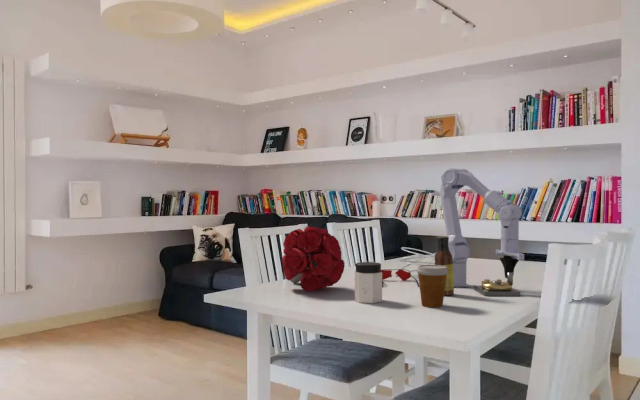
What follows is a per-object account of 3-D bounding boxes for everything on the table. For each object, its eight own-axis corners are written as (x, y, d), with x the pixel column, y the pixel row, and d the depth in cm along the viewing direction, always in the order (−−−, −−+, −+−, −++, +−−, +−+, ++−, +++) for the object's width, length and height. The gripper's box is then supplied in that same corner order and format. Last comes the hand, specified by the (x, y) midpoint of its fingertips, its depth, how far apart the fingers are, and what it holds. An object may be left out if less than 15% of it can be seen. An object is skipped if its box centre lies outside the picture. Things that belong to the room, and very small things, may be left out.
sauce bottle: (455, 293, 177) (455, 236, 177) (452, 296, 171) (452, 237, 171) (436, 292, 180) (436, 235, 180) (432, 295, 174) (432, 236, 174)
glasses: (410, 281, 206) (410, 268, 206) (419, 288, 190) (419, 274, 190) (376, 281, 206) (376, 268, 206) (382, 288, 189) (382, 275, 189)
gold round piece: (478, 288, 177) (478, 272, 177) (485, 284, 185) (485, 268, 185) (510, 291, 171) (510, 274, 171) (515, 287, 180) (515, 270, 180)
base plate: (484, 296, 173) (484, 291, 173) (474, 289, 185) (474, 285, 185) (520, 296, 173) (520, 291, 172) (507, 289, 185) (507, 285, 184)
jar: (351, 302, 162) (351, 264, 162) (357, 297, 170) (357, 261, 170) (379, 304, 159) (379, 265, 159) (384, 299, 167) (384, 262, 167)
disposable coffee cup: (414, 302, 162) (414, 264, 162) (444, 302, 162) (444, 264, 162) (419, 308, 153) (419, 268, 153) (451, 308, 153) (451, 268, 153)
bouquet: (269, 305, 189) (298, 274, 166) (264, 247, 201) (289, 210, 177) (323, 304, 198) (357, 275, 175) (314, 248, 209) (345, 214, 186)
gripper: (488, 237, 184) (487, 275, 184) (511, 241, 170) (510, 282, 170) (506, 237, 185) (505, 274, 185) (530, 240, 171) (529, 281, 171)
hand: (509, 278), depth 178 cm, fingers closed, pressing on gold round piece
